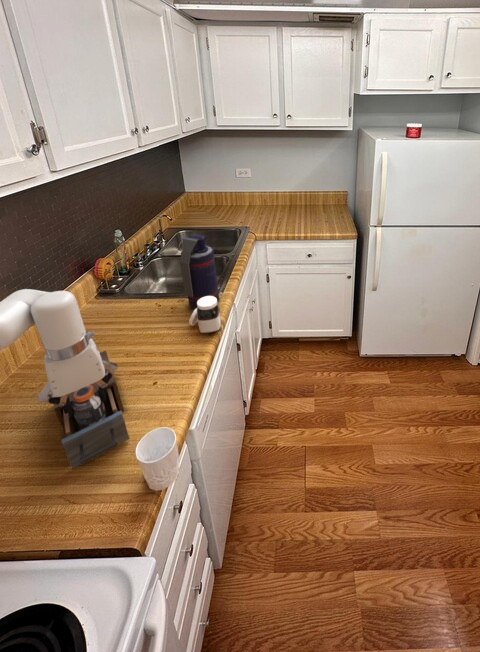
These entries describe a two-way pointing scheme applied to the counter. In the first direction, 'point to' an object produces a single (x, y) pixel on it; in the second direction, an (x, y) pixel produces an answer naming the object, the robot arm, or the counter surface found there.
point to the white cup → (158, 458)
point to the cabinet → (110, 384)
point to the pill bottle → (88, 407)
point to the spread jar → (206, 315)
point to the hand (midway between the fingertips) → (87, 404)
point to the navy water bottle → (198, 269)
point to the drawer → (94, 435)
